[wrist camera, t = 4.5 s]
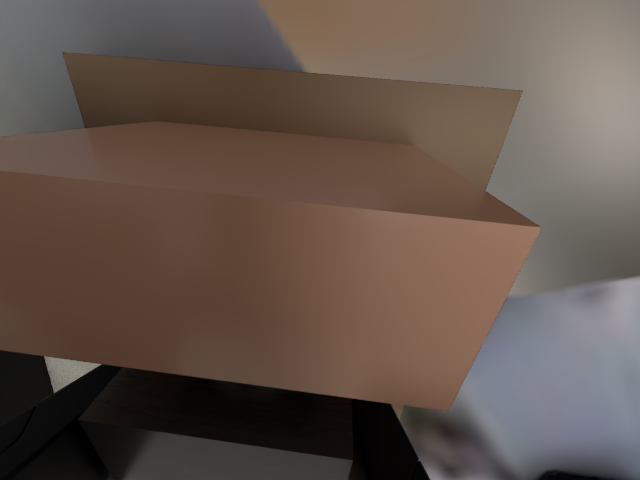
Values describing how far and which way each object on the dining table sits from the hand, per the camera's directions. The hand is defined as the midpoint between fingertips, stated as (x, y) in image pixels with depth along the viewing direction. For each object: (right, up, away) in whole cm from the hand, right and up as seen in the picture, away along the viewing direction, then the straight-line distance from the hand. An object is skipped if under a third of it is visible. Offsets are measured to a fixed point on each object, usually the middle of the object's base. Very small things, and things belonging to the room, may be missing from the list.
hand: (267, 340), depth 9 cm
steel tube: (0, -5, +4) cm, 7 cm away
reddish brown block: (0, +5, 0) cm, 5 cm away
